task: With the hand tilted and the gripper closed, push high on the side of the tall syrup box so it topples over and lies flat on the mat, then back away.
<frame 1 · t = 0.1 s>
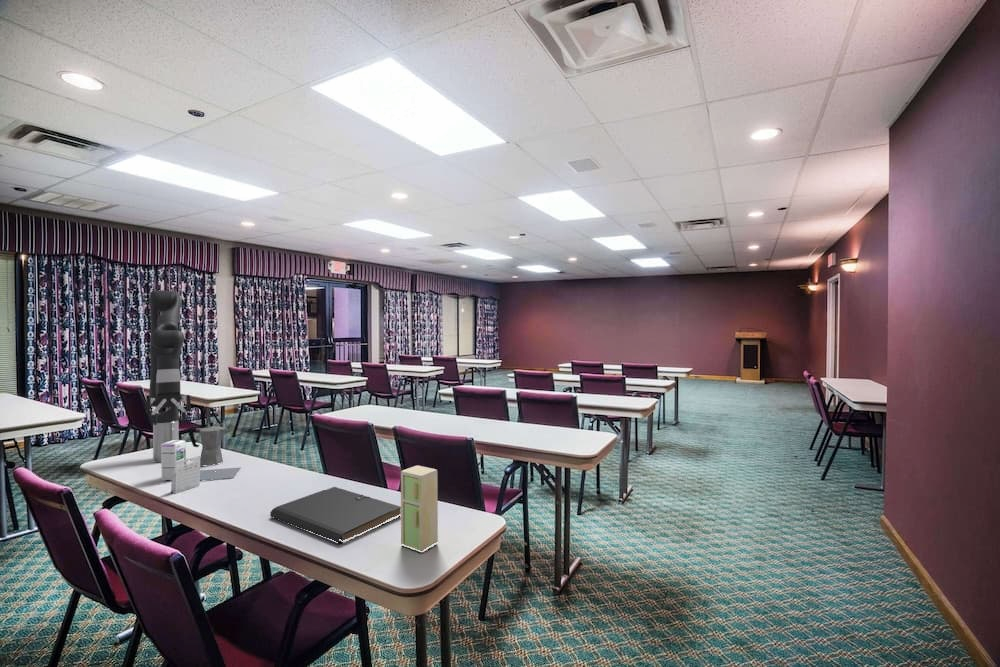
hand: (169, 423, 179), 22 cm above the table, tool pointing down, fingers open, 8 cm apart
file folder: (336, 519, 147), on the table
coffeepot: (208, 463, 203), on the table
toy refrigerator: (418, 547, 128), on the table
ink box: (185, 489, 170), on the table
syrup box: (173, 478, 182), on the table
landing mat: (211, 475, 186), on the table
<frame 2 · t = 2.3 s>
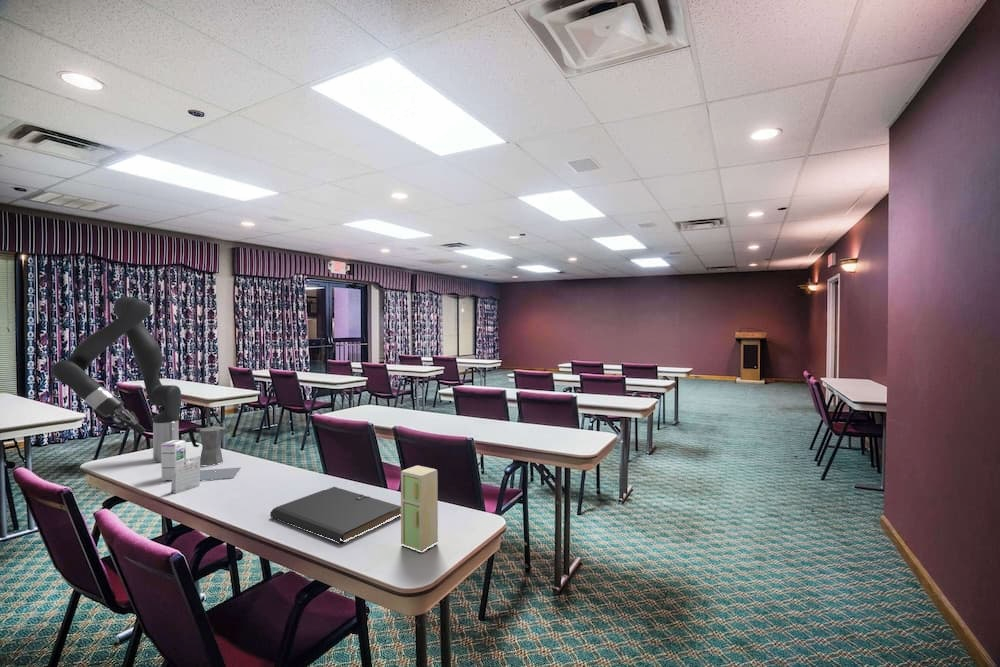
hand: (143, 432, 179), 19 cm above the table, tool tilted 45°, fingers closed
nothing on the table moved.
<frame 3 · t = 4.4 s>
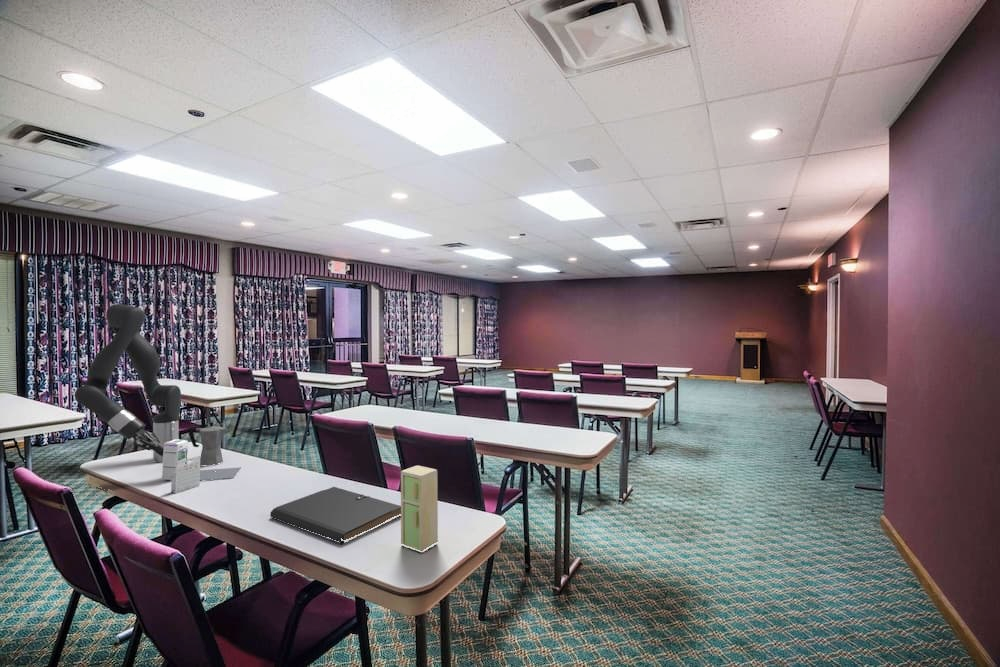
hand: (164, 453, 181), 10 cm above the table, tool tilted 45°, fingers closed
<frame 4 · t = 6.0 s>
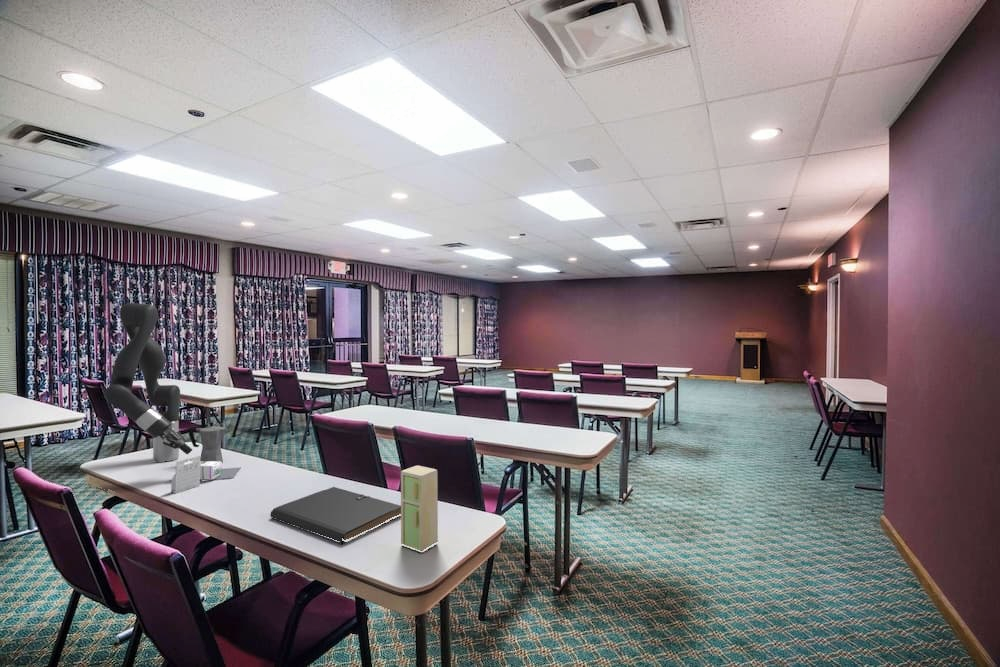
hand: (190, 452, 184), 10 cm above the table, tool tilted 45°, fingers closed
syrup box: (180, 469, 182), point 3 cm above the table, touching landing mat
everything else where it was.
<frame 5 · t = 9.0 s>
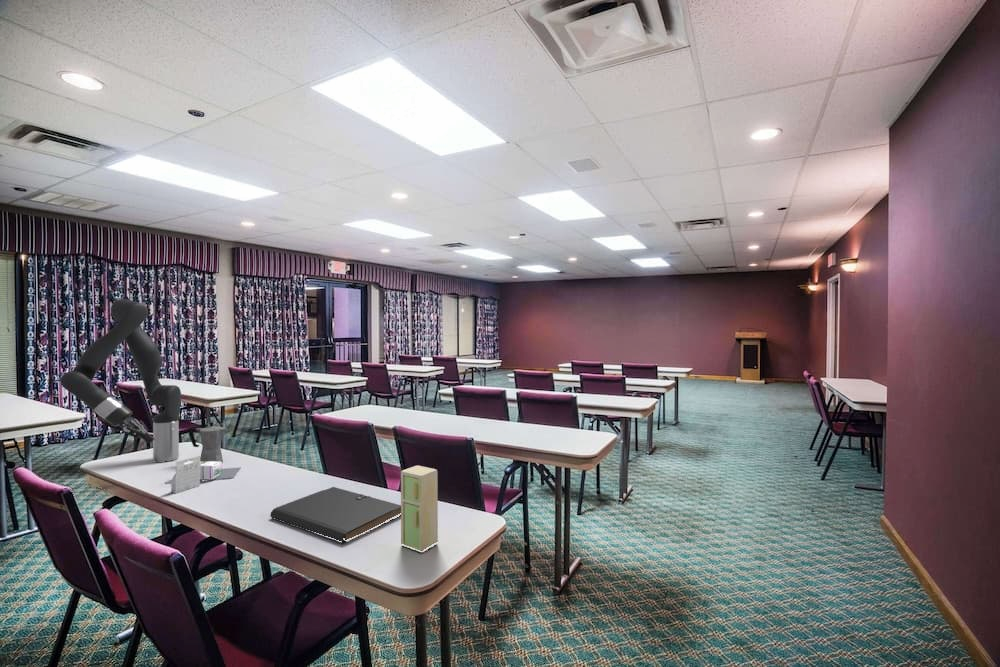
hand: (152, 441, 180), 15 cm above the table, tool tilted 45°, fingers closed
nothing on the table moved.
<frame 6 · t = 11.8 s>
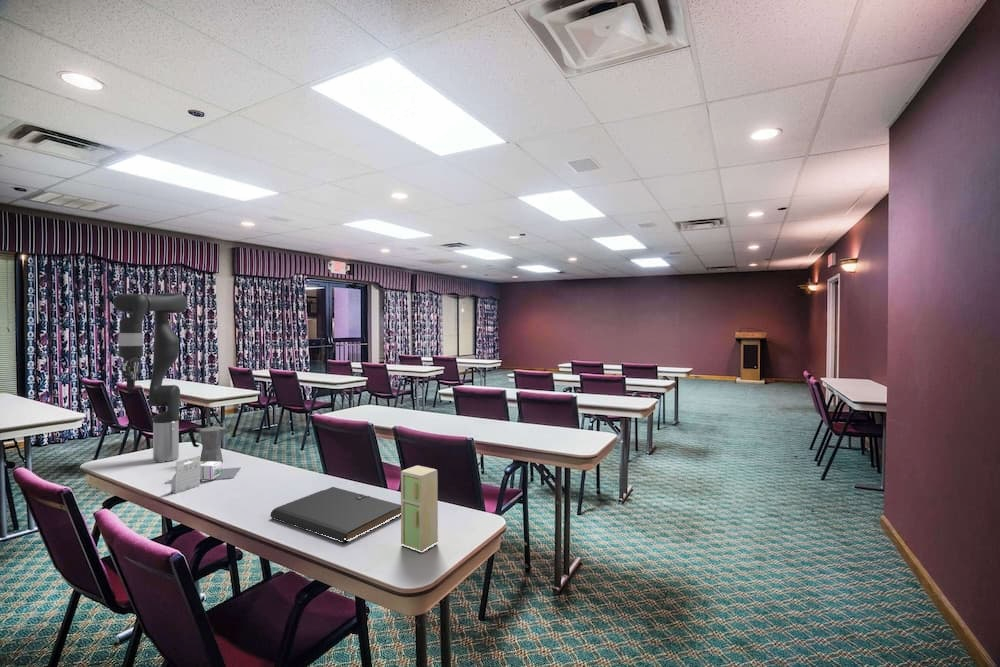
hand: (130, 388, 182), 35 cm above the table, tool pointing down, fingers closed
nothing on the table moved.
at the end: syrup box tilted 90°; syrup box touching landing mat; syrup box inside the target area (4.6 cm from its centre), point 3.4 cm above the table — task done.
